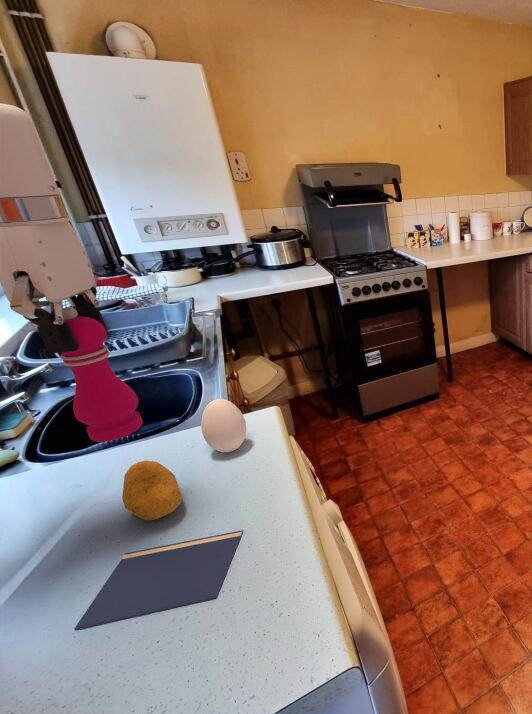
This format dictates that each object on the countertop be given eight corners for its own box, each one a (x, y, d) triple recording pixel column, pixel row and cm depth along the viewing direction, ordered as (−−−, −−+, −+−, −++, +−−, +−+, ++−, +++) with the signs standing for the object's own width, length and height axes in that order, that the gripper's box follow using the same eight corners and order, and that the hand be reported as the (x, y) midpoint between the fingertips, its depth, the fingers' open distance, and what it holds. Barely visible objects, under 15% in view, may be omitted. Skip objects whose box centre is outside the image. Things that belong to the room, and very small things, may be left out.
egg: (207, 465, 85) (189, 413, 81) (213, 444, 92) (197, 396, 87) (250, 454, 88) (235, 404, 84) (253, 435, 95) (239, 387, 90)
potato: (136, 543, 68) (120, 508, 65) (126, 498, 77) (111, 465, 75) (191, 518, 72) (178, 484, 70) (175, 478, 82) (163, 447, 79)
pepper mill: (155, 425, 69) (109, 304, 61) (96, 449, 63) (38, 319, 56) (135, 413, 72) (89, 297, 65) (78, 435, 67) (21, 311, 59)
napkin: (74, 630, 55) (73, 628, 55) (126, 554, 66) (125, 552, 66) (216, 598, 59) (216, 596, 59) (243, 531, 70) (242, 529, 69)
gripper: (37, 207, 62) (85, 325, 69) (-76, 221, 47) (0, 371, 53) (100, 205, 64) (141, 320, 71) (10, 217, 49) (73, 363, 55)
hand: (79, 341), depth 62 cm, fingers closed on pepper mill, 6 cm apart
